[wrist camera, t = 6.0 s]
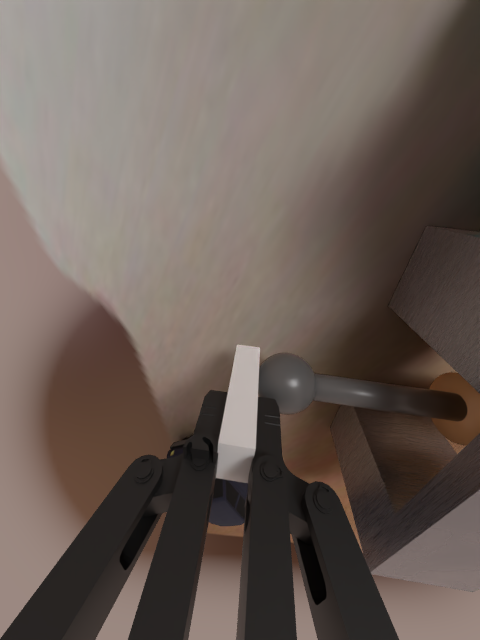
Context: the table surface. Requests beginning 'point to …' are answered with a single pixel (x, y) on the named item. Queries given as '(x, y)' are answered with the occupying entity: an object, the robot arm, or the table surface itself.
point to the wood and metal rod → (373, 395)
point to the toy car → (222, 496)
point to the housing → (422, 434)
